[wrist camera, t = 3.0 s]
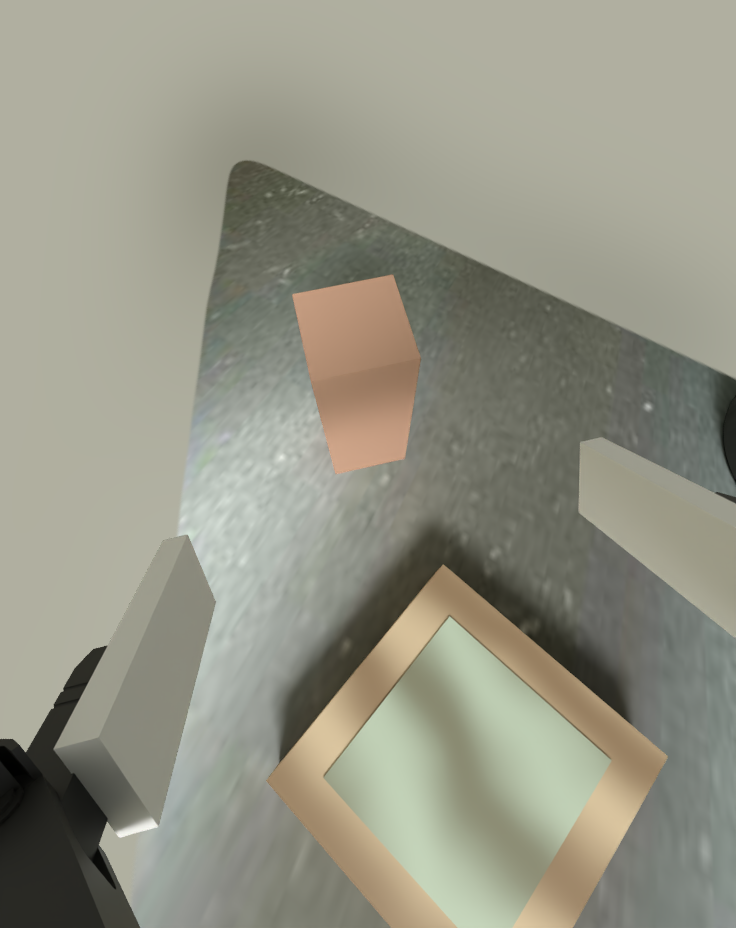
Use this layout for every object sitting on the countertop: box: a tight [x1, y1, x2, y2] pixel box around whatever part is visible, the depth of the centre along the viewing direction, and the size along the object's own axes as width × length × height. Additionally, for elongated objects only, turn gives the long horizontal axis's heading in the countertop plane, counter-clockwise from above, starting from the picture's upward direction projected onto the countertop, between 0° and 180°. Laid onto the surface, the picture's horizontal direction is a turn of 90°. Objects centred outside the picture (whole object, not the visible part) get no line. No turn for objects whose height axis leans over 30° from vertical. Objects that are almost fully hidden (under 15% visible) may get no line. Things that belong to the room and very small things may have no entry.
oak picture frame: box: [266, 564, 668, 928], centre depth 22 cm, size 14×14×3 cm
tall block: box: [292, 275, 421, 474], centre depth 26 cm, size 5×5×12 cm
